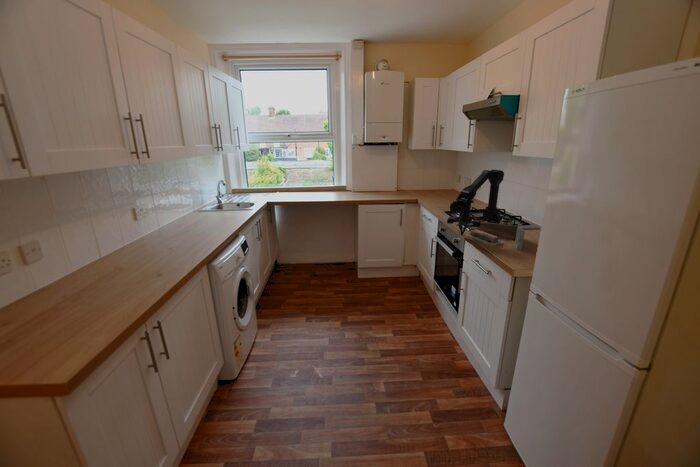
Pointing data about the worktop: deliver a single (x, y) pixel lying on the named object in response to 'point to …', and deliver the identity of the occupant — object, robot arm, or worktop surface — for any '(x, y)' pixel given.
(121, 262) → the worktop surface
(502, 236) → the brown piece
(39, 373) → the worktop surface
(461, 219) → the robot arm
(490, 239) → the packaged product
